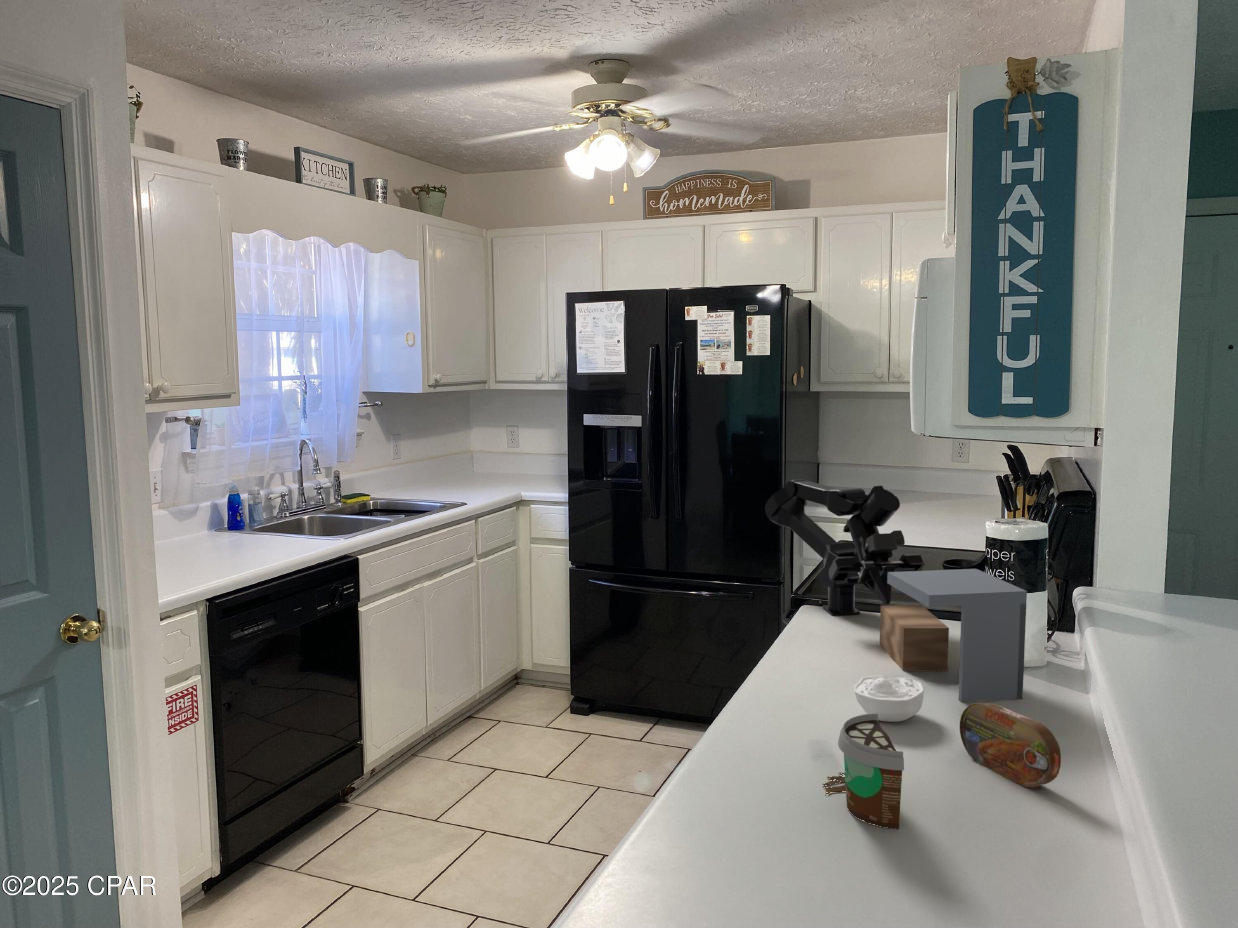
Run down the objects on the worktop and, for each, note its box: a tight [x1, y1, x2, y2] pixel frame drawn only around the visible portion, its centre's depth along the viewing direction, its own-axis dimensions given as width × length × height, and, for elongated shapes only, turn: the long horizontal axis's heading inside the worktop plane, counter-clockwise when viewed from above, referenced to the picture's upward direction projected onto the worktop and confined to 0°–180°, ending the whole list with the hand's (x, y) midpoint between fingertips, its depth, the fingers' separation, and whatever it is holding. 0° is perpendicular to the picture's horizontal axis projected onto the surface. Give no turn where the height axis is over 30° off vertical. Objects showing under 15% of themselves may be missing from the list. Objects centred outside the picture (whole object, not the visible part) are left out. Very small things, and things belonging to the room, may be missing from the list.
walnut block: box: [879, 604, 950, 672], centre depth 165 cm, size 15×8×8 cm, turn 179°
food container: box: [837, 713, 905, 830], centre depth 109 cm, size 12×6×10 cm, turn 178°
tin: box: [959, 702, 1062, 788], centre depth 118 cm, size 15×3×8 cm, turn 23°
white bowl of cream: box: [853, 674, 925, 723], centre depth 137 cm, size 10×12×7 cm
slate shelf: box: [887, 568, 1028, 703], centre depth 150 cm, size 16×16×18 cm
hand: (887, 603), depth 176 cm, fingers closed
